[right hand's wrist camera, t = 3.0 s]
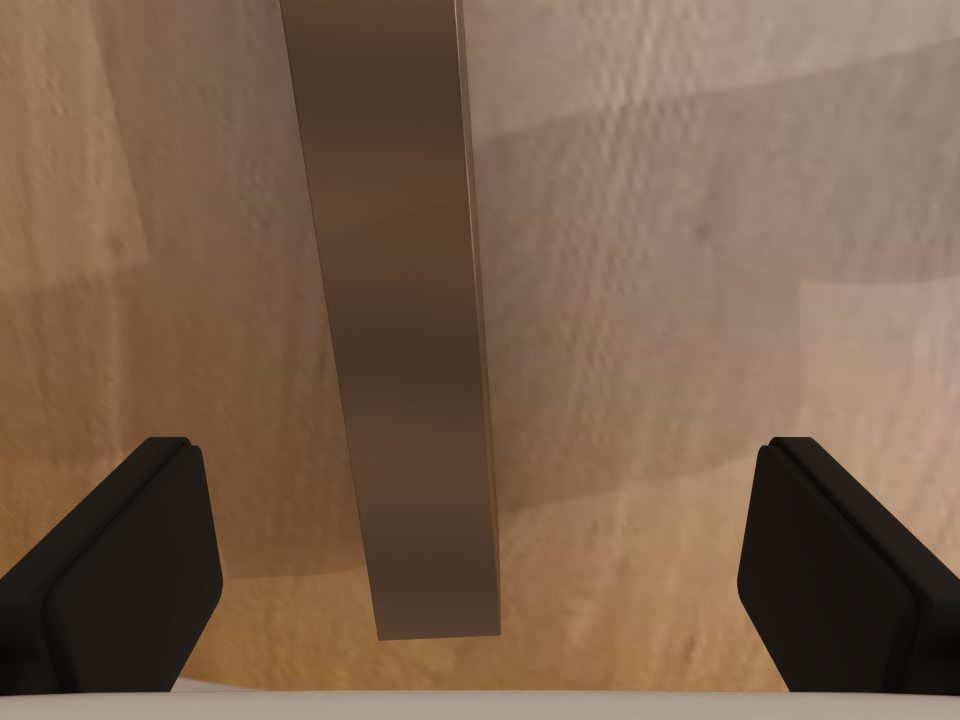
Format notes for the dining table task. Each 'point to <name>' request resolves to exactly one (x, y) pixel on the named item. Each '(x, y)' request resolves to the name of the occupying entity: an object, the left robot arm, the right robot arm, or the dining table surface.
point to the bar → (404, 299)
